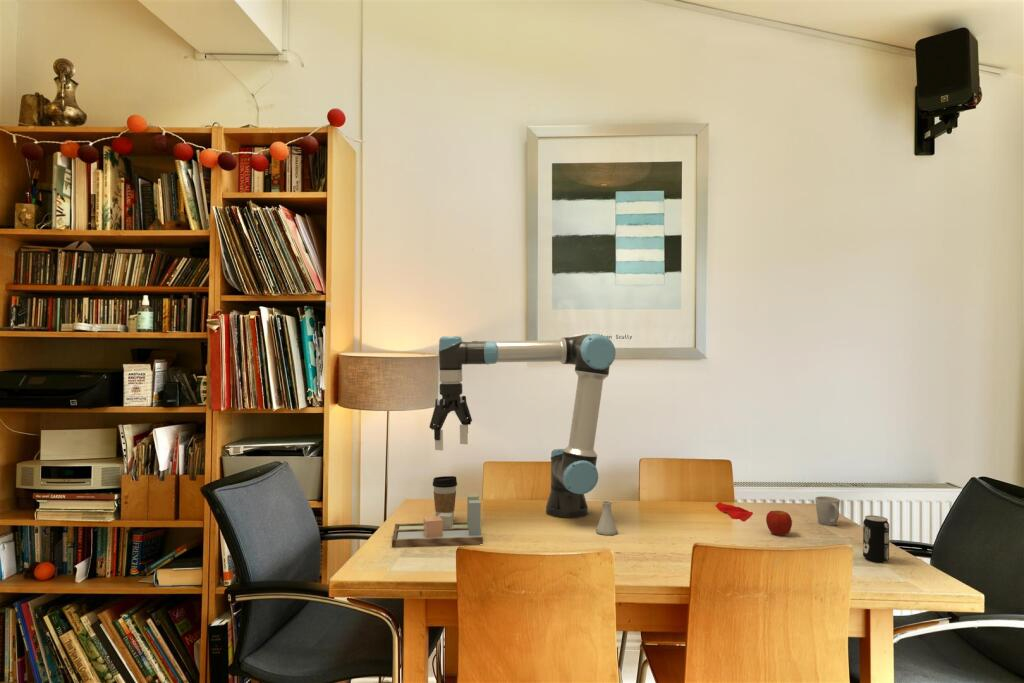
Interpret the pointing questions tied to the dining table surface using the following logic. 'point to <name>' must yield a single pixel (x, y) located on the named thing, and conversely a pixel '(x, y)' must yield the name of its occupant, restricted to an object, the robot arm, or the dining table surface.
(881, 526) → the beverage can
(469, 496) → the grey l-shaped bracket
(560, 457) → the robot arm
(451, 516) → the grey cube
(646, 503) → the dining table surface
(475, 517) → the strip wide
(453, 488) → the coffee cup
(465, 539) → the lane frame
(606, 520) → the flask
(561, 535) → the dining table surface
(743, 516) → the cloth
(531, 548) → the dining table surface
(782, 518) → the apple
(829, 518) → the cup
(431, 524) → the terracotta cube
